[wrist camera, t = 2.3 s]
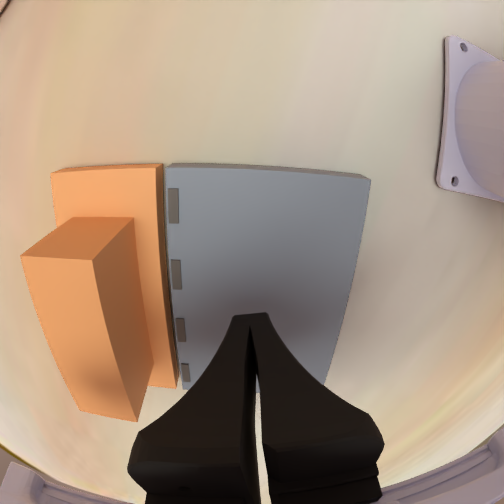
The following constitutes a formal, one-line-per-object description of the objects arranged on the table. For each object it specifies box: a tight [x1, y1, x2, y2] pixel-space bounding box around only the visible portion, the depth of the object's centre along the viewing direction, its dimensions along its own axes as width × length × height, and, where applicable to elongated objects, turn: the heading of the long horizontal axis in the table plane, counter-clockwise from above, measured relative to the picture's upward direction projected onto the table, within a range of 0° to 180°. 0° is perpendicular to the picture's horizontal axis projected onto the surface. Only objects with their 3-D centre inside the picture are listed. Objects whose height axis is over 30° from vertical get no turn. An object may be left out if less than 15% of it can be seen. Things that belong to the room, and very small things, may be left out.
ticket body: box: [166, 163, 371, 393], centre depth 14 cm, size 8×12×1 cm, turn 177°
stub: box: [20, 164, 179, 422], centre depth 12 cm, size 5×12×5 cm, turn 177°
